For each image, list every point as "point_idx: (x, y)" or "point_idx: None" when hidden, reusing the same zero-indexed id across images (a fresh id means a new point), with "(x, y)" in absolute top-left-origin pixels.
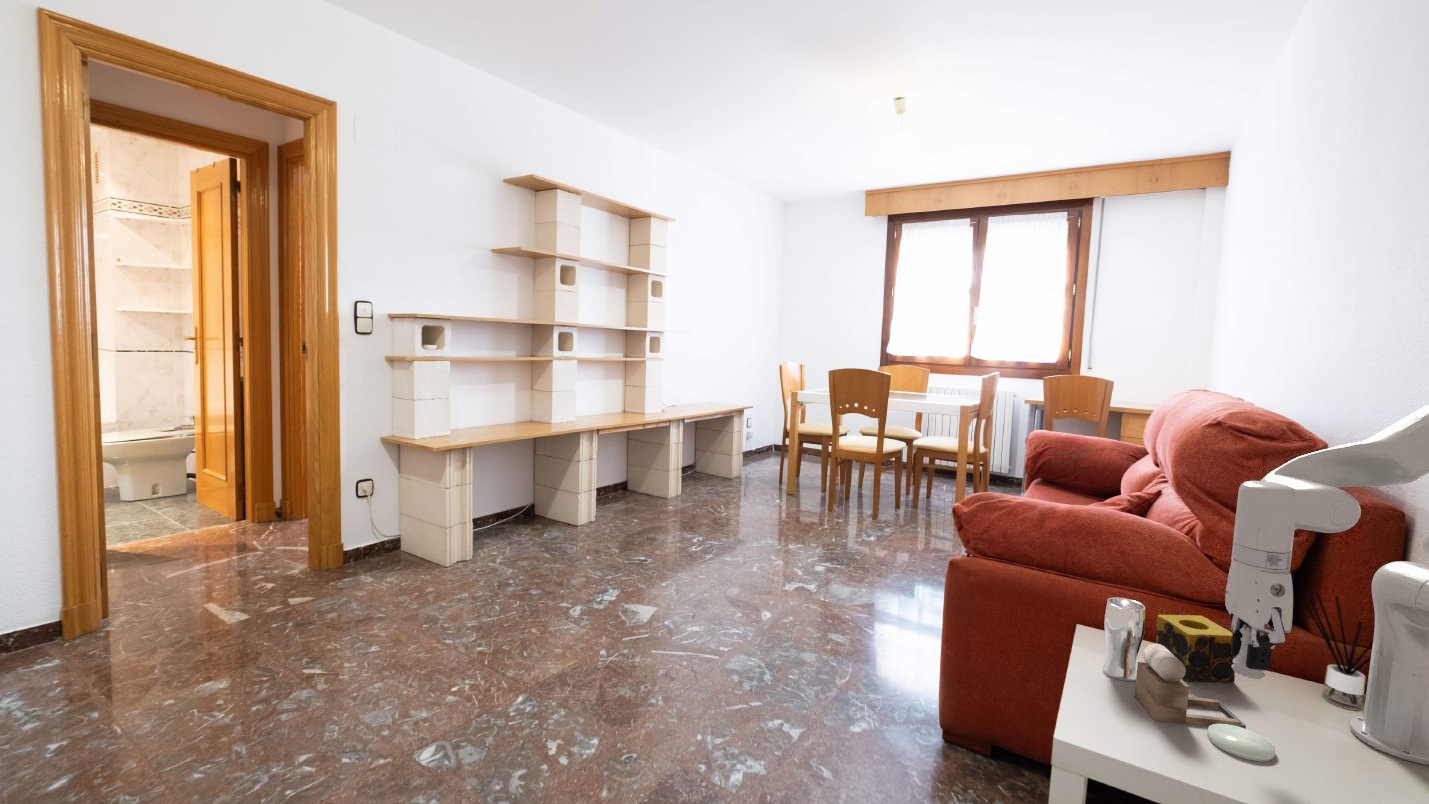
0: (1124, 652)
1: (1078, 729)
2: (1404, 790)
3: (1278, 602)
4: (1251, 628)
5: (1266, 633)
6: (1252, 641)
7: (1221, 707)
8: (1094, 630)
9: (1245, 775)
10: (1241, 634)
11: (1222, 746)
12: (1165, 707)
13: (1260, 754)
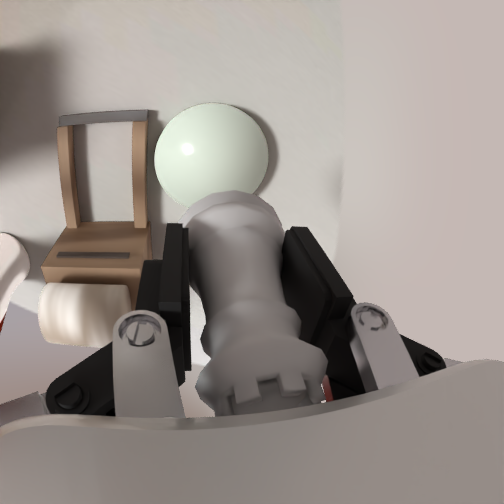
0: (7, 299)
1: (207, 358)
2: None
3: None
4: (258, 407)
5: (364, 382)
6: (326, 379)
7: (76, 124)
8: None
9: (303, 206)
10: (185, 360)
11: None
12: None
13: (263, 155)
